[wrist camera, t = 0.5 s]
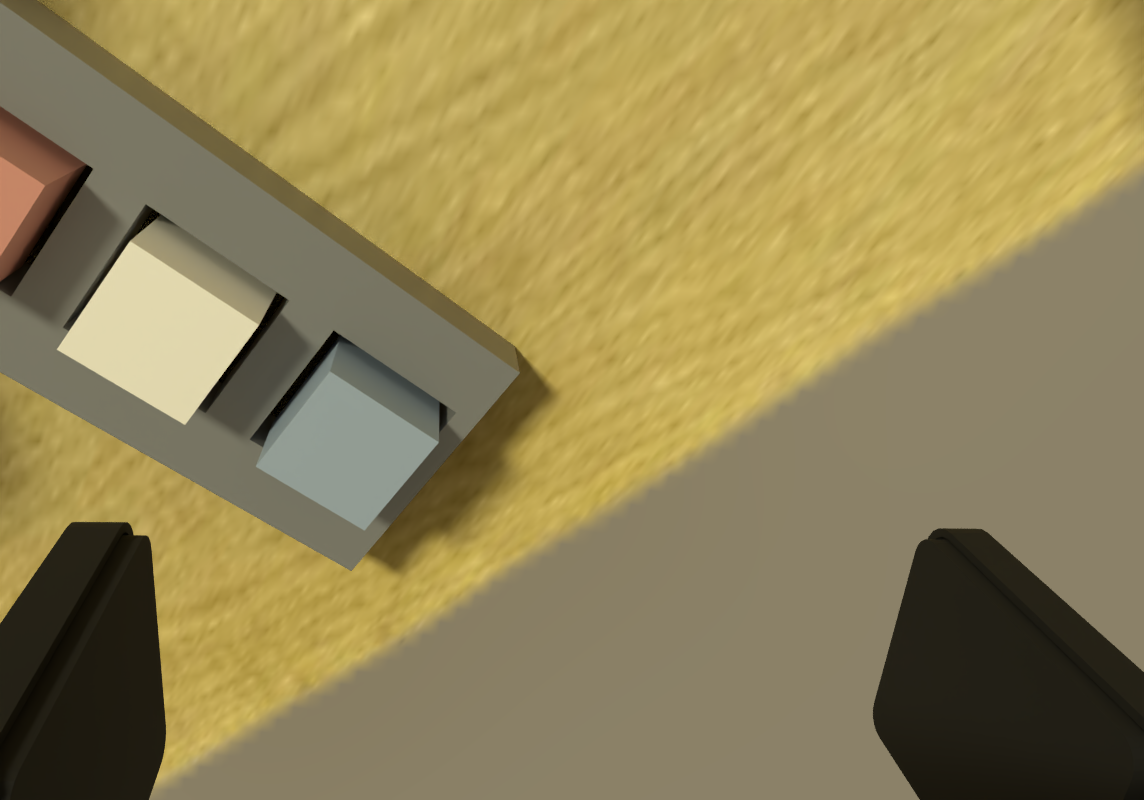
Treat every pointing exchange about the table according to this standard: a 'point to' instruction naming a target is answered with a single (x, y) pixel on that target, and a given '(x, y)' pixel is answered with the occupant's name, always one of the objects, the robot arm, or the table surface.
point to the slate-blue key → (351, 434)
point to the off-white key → (168, 319)
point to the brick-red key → (29, 188)
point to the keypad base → (245, 237)
